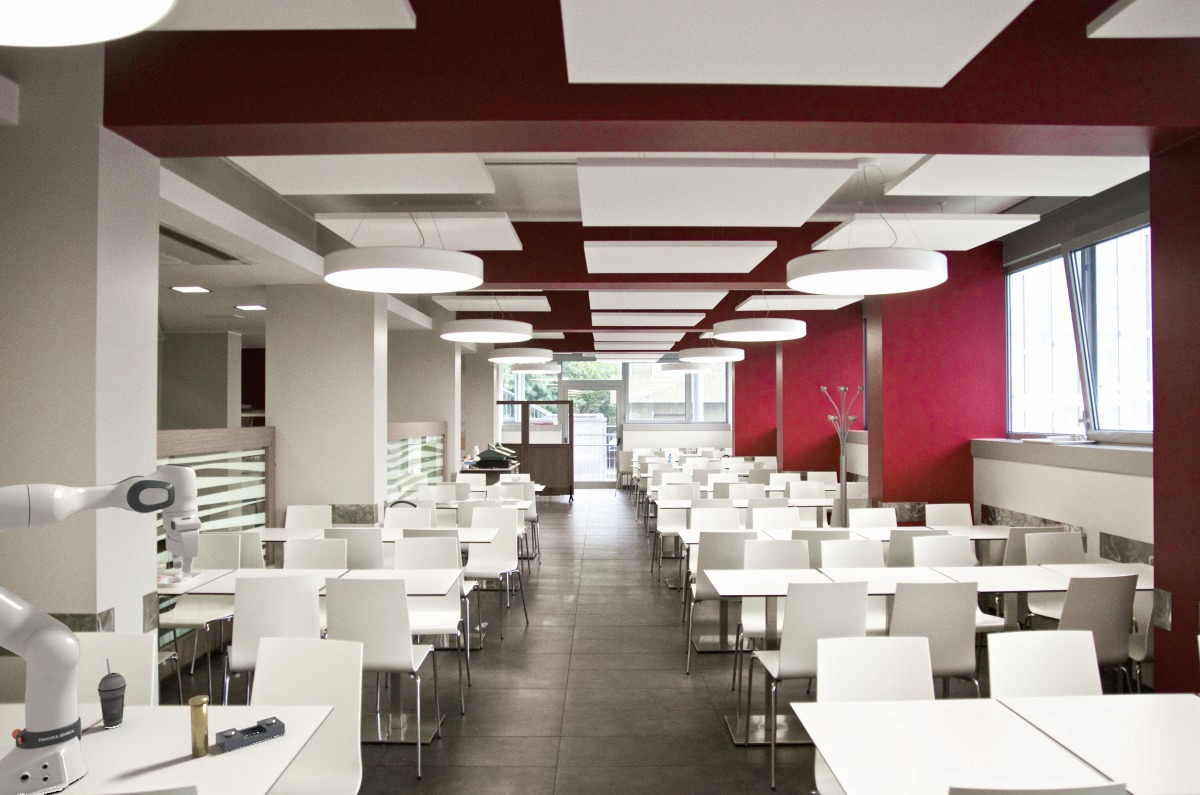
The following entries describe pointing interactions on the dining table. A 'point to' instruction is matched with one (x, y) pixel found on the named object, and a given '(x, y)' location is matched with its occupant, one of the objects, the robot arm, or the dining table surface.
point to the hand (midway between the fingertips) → (182, 570)
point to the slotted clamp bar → (236, 737)
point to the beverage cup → (112, 698)
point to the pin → (199, 725)
